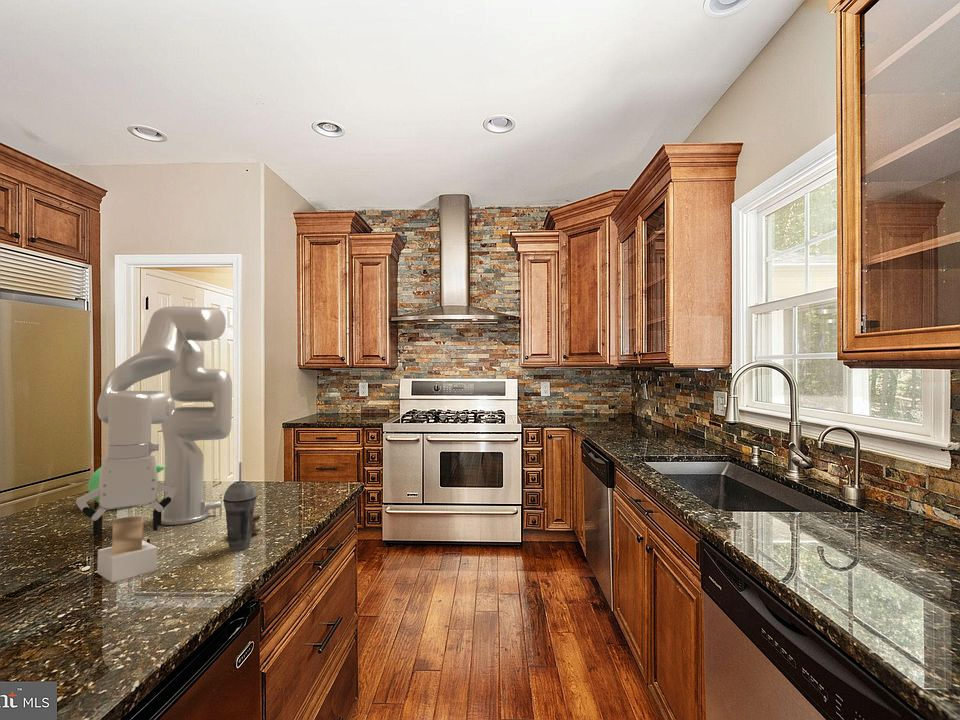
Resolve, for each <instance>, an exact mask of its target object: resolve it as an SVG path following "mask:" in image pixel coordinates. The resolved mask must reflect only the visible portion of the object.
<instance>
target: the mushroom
mask: <svg viewBox="0 0 960 720" xmlns="http://www.w3.org/2000/svg"><path fill="white" fill-rule="evenodd" d="M260 518H261V515H260V514H259V513H257V512H254V513H253V523H252V532H251V536H252V535H255V534H257V533H259V532H260V531H261V528H259V527H257V525H256V523H257V522H258V521H259V520H260Z"/></svg>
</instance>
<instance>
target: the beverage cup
mask: <svg viewBox="0 0 960 720" xmlns="http://www.w3.org/2000/svg"><path fill="white" fill-rule="evenodd" d="M242 463H243V462H241V461H239V463H238V466H239V467H238V481H235V482H233V483H232V484H230V485H228V487H227V488H226V490H225V492H224V495H223V500H222V501H223V506H224V509H225V520H226V521H225V522H226V533H227V543H228V549H229V550H230V551H242V550H246V549H248V548H250V546H251V540H252V535H251V532H252V523H253V513H255V511H254V510H255V506H256V502H257V501H256V500H257V498H258V497H257V493H256V489H255V487H254V485H252V484H251V483H250V482H248V481H244V480H242V473H243V472H242V469H243V468H242V467H243V466H242Z"/></svg>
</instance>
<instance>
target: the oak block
mask: <svg viewBox="0 0 960 720" xmlns="http://www.w3.org/2000/svg"><path fill="white" fill-rule="evenodd" d="M142 517H143V514H140V515H139V514H137V515H132V516H130V515H129V516H124V517H123V516H122V517H115V518H113V520H112V536H111V537H112V541H111V542H112V543H111V545H112V546H111V547H112V554H117V553H123V552H129V551H135V550H141V549H142Z"/></svg>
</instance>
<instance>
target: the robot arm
mask: <svg viewBox="0 0 960 720" xmlns="http://www.w3.org/2000/svg"><path fill="white" fill-rule="evenodd" d="M226 325H227V321H226V317H225V313H224V312H223V311H222V309H220V308H218V307H200V306H179V305H177V306H164V307H161V308H159V309H157V310H156V311H154V312H153V313H152V315H151V317H150V320H149V323H148V326H147V328H146V331H145V334H144V339H143V341H142V344H141V345H140V350H139V352H138V353H136V354H135V355H133V356H131V357H128V358H127V359H126V360H125V361H124V362H122V363H121V364H119V365H117V367H115V368H114V369H113V370H112V371H110V373H109V375H108V376H107V377H106V379H105V381H104V383H103V387H102V389H101V392H100V395H99V398H98V402H97V407H96V409H97V411H96V412H97V416H98V418H99V419H100V421H101V422H102V423H104V424H107V458H106V459H105V458H104V459H103V460H102V463H101V465H100V467H101V471H100V480H99V488H97V489H95V490H93V491H91V492H90V493H89V492H87V493H85V494H84V495H81V496H79V497H78V498H77V499H76V500H75V503H76V505H77V506H78V508H79V509H80V510H81V512H82V514H84V515H85V516H86V517H88V518H90V519H91V520H92V536H96V540H97V541H100V540H102V533H103V532H102V530H103V529H102V528H103V526H102V525H103V518H102V516H103V514H104V513H105V512H106V511H108V510H115V509H123V508H131V507H140V506H146V505H150V506H151V507H152V508H153V510H152V530H153V532H158V530H159V529H158V527H159V526H162V525H164V526H165V525H167V526H174V525H175V526H176V525H186V524H190V523H191V524H192V523H196V522H200V521H203V520H205V519H206V518H208V517H209V514H210V512H209V510H212V509H213V510H215V509H221V508H222V501H214V500H212V501H211V500H210V501H205V499H204V454H203V450H201V448H200V446H198V444H197V442H195V441H217V440H218V441H219V440H224V439H226V438H228V437H229V435H230V433H231V430H232V420H233V419H232V417H233V416H232V415H233V414H232V413H233V406H232V405H233V381H232V377H231V374H230V373H229V372H228V371H226V370H224V369H220V368H205V351H204V349H203V347H202V346H201V345H200V343H199V342H210V341H214V340H216V339H218V338H220V337H222V336H223V334H224V332H225V330H226ZM166 372H169V378H168V379H169V384H168V385H169V387H168V388H169V393H168V392H166V391H163V390H162V391H161V390H128V389H129V388H130V387H131V386H133V385H135V384H136V383H138V382H140V381H143V380H147V379H148V378H151V377H155V376H157V375H161V374H164V373H166ZM175 401H176V402H180V403H212V405H213V406H179V407H178V406H177V407H176V403H175ZM159 424H161V432H162V437H163V443H164V466H165V468H164V482H160V481H158V482H157V474H158V473H157V470H156V466H157V462H156V458H155V455H152V454H153V452H157V451H159V449H160V445H159V443H158V444H155V443H153V442H151V441H152V425H159ZM158 490H160V491H164V492H163V499H162V500H161V501H159V500H158ZM97 496H98V500H99V502H98V507H97V508H95V509H93V508H92V507H90V506H89V505H88V503H87V502H90V501H91V500H94V499H93V498H95V497H97ZM162 512H163V513H162Z"/></svg>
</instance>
